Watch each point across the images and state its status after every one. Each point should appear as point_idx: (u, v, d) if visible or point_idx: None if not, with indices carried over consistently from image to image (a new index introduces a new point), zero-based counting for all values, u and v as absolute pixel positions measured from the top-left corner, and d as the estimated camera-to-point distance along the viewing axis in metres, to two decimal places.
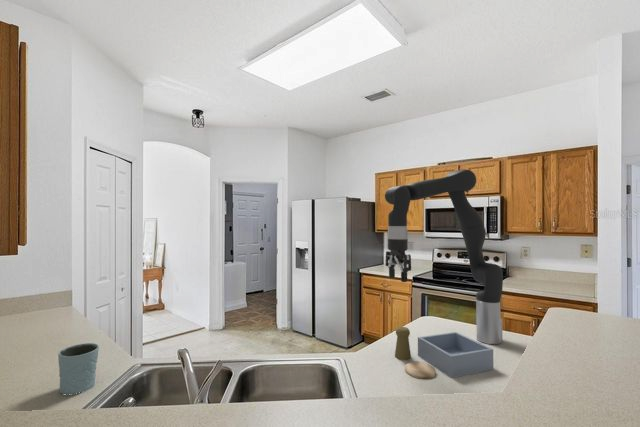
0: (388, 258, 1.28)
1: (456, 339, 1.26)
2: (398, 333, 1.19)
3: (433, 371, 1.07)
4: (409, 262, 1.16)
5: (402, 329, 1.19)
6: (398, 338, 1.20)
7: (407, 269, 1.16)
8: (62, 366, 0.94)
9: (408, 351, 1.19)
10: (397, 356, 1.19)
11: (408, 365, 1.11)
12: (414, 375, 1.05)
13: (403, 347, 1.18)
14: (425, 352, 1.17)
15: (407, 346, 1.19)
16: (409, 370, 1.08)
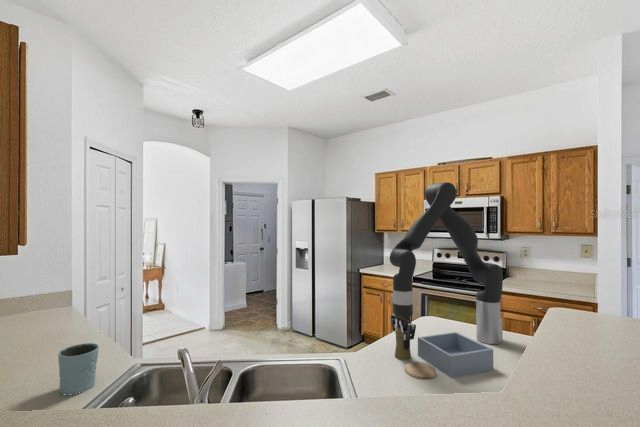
0: (394, 322, 1.25)
1: (456, 339, 1.26)
2: (398, 333, 1.19)
3: (433, 371, 1.07)
4: (413, 332, 1.15)
5: None
6: (398, 338, 1.20)
7: (410, 338, 1.16)
8: (62, 366, 0.94)
9: (408, 351, 1.19)
10: (397, 356, 1.19)
11: (408, 365, 1.11)
12: (414, 375, 1.05)
13: (403, 347, 1.18)
14: (425, 352, 1.17)
15: None
16: (409, 370, 1.08)
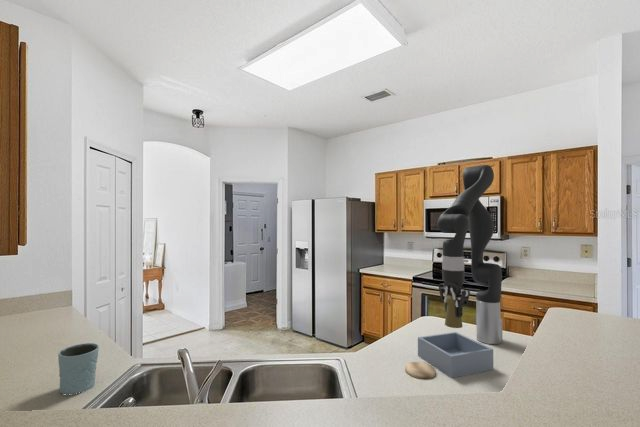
0: (442, 291, 1.21)
1: (456, 339, 1.26)
2: (449, 301, 1.15)
3: (433, 371, 1.07)
4: (467, 298, 1.11)
5: None
6: (449, 306, 1.16)
7: (463, 305, 1.11)
8: (62, 366, 0.94)
9: (460, 319, 1.14)
10: (448, 324, 1.15)
11: (408, 365, 1.11)
12: (414, 375, 1.05)
13: (455, 315, 1.14)
14: (425, 352, 1.17)
15: None
16: (409, 370, 1.08)
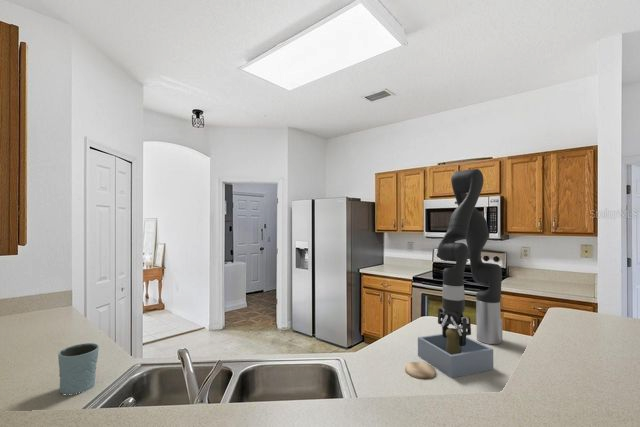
0: (441, 316, 1.21)
1: None
2: (449, 335, 1.15)
3: (433, 371, 1.07)
4: (469, 326, 1.10)
5: (453, 331, 1.14)
6: (449, 340, 1.15)
7: (467, 334, 1.09)
8: (62, 366, 0.94)
9: None
10: None
11: (408, 365, 1.11)
12: (414, 375, 1.05)
13: (455, 349, 1.14)
14: (425, 352, 1.17)
15: (459, 348, 1.14)
16: (409, 370, 1.08)
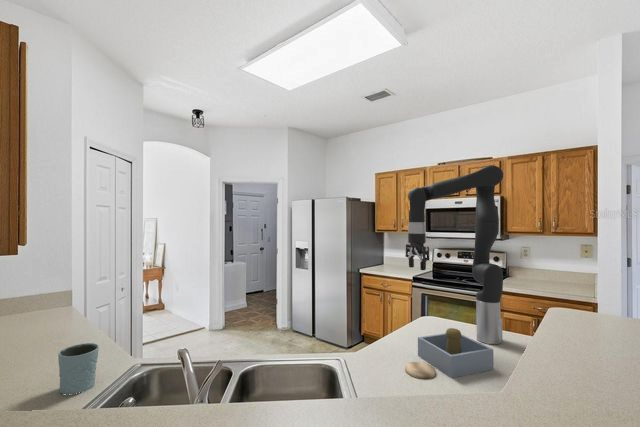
0: (408, 250, 1.47)
1: None
2: (449, 335, 1.14)
3: (433, 371, 1.07)
4: (427, 253, 1.36)
5: (454, 331, 1.14)
6: (449, 340, 1.15)
7: (426, 259, 1.35)
8: (62, 366, 0.94)
9: None
10: None
11: (408, 365, 1.11)
12: (414, 375, 1.05)
13: (455, 349, 1.14)
14: (425, 352, 1.17)
15: (459, 348, 1.14)
16: (409, 370, 1.08)
